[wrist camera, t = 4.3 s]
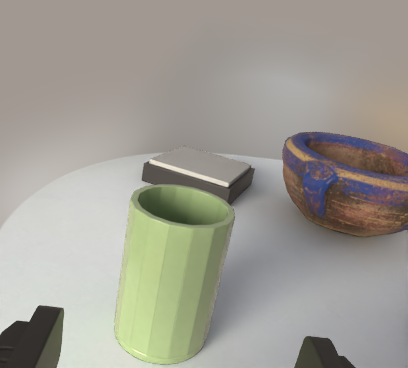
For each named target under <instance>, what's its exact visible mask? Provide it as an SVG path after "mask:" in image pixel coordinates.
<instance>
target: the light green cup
mask: <svg viewBox="0 0 408 368" xmlns="http://www.w3.org/2000/svg"><path fill="white" fill-rule="evenodd" d="M234 220H235V214H234V209H233V208H232V207H231V206H230V205H229V204H228V203H227V202H226V201H225V200H223V199H222V198H220V197H218V196H216V195H214V194H212V193H209V192H206V191H203V190H200V189H197V188H193V187H187V186H181V185H169V184H157V185H151V186H145V187H142V188H140V189H138V190H136V191H134V192H133V195H132V197H131V199H130V206H129V214H128V221H127V229H126V236H125V244H124V251H123V259H122V267H121V274H120V282H119V289H118V297H117V304H116V312H115V319H114V323H115V325H114V331H115V335H116V338H117V340H118V342H119V344H120V345H121V346H122V347H123V348H124V349H125V350H126V351H127V352H128V353H130V354H131V355H133V356H134V357H136V358H138V359H141V360H143V361H146V362H150V363H155V364H175V363H179V362H183V361H185V360H188V359H190V358H192V357H193V356H194V355H196V354H197V353H198V352H199V351H200V350H201V348H202V347H203V345H204V343H205V339H206V337H207V334H208V330H209V326H210V322H211V318H212V313H213V309H214V305H215V301H216V296H217V292H218V288H219V284H220V279H221V275H222V271H223V267H224V262H225V258H226V254H227V250H228V245H229V241H230V237H231V232H232V228H233V224H234Z"/></svg>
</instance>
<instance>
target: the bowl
mask: <svg viewBox="0 0 408 368" xmlns="http://www.w3.org/2000/svg"><path fill="white" fill-rule="evenodd" d="M283 177H284V181H285V185H286V188H287V191H288V193H289V195H290V197H291V199H292V200H293V202H294V203H295V204H296V205H297V207H298V208H299V209H300V210H301V211H302V213H303V214H304V215H305V216H306V217H307V218H308V219H310V220H311V221H313V222H315V223H317V224H319V225H321V226H324V227H327V228H330V229H333V230H337V231H341V232H345V233H348V234H352V235H357V236H364V237H368V236H374V235H382V234H392V233H397V232H401V231H404V230H408V154H407V153H405V152H402V151H400V150H398V149H396V148H394V147H390V146H387V145H383V144H380V143H376V142H372V141H368V140H364V139H360V138H356V137H350V136H345V135H339V134H332V133H323V132H304V133H298V134H296V135H293V136H291V137H289V138H288V139H287V140H286V141H285V144H284V148H283Z"/></svg>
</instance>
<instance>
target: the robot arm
mask: <svg viewBox="0 0 408 368" xmlns="http://www.w3.org/2000/svg"><path fill="white" fill-rule="evenodd" d="M63 318H64V309H63V308H59V307H50V306H41V305H39V306H38V307H37V309H36V311H35V312H34V314H33V316H32V318H31V320H30V322H25V321H16V322H14V323H13V324H12V325H11V326H9V327H8V328H7V329H5V330H4V331H3V332H2V333H1V335H0V368H56V367H57V364H58V361H59V357H60V352H61V344H62V331H63ZM294 368H355V367H354V366H353V365H352V364H351V363H350V362H349V361H348V360H347V359H346V357H345V356H339V355H338V353H337V351H336V349H335V347H334V345H333V343H332V341H331V340H330V339H328V338H320V337H311V336H307V337H305V339H304V341H303V344H302V347H301V349H300V352H299V355H298V358H297V361H296V364H295V367H294Z"/></svg>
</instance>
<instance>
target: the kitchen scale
mask: <svg viewBox="0 0 408 368" xmlns="http://www.w3.org/2000/svg"><path fill="white" fill-rule="evenodd" d="M254 170H255V169H253V168H251V165H250V164H247V163H243V162H240V161H236V160H233V159H229V158H226V157H222V156H219V155H215V154H212V153H208V152H205V151H201V150H198V149H194V148H191V147H187V146H183V147H180V148H177V149H175V150H172V151H170V152H167V153H164V154H162V155H159V156H157V157H154V158H152V159H150V161H149V162H146V163H144V167H143V174H142V180H143V181H146V182H149V183H152V184H155V185H157V184H169V185H181V186H187V187H193V188H197V189H200V190H203V191H206V192H209V193H212V194H214V195H216V196H218V197H220V198H222V199H223V200H225V201H226V202H227V203H228V204H229V205H230V204H231V203H232V202H233V201H234V200H235V199H236V198H237V197H238V196H239V195H240V194H241V193H242V192H243V191H244V190H245V189H246V188H247V187H248V186H249V185H250V184H251V182H252V178H253V174H254Z"/></svg>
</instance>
